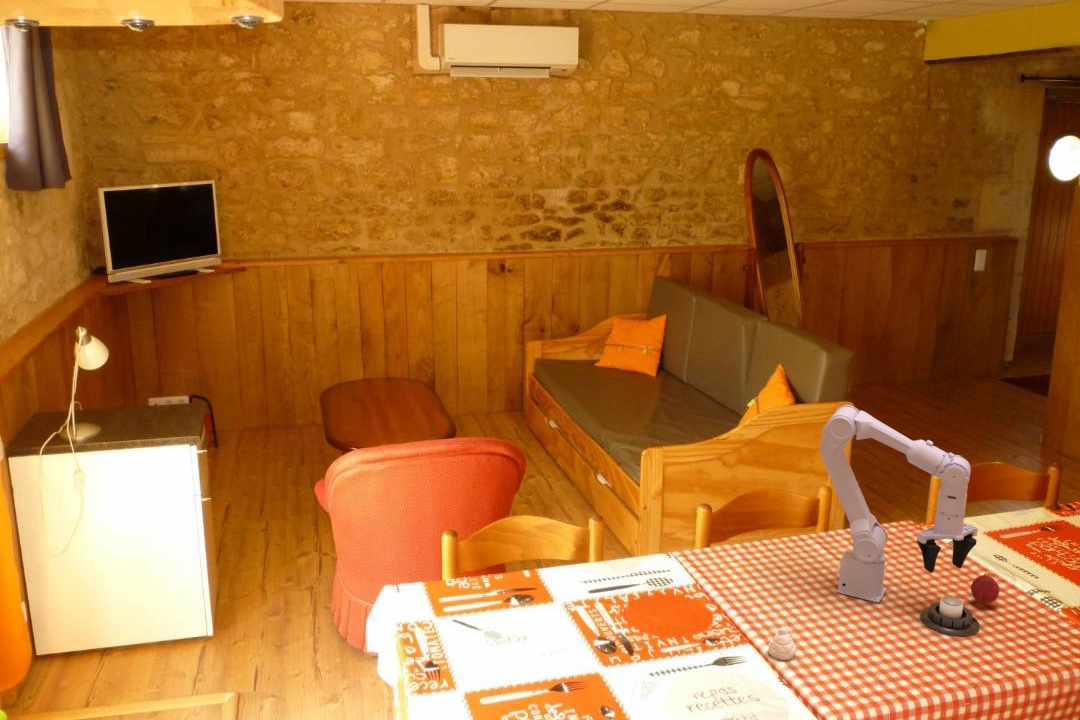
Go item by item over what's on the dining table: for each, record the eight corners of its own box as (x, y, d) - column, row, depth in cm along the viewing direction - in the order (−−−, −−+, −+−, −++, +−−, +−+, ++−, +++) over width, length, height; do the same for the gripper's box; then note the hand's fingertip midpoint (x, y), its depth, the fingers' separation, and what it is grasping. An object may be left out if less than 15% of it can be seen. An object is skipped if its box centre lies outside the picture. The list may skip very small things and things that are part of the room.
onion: (999, 612, 214) (1004, 579, 212) (972, 609, 215) (976, 576, 213) (993, 599, 219) (997, 567, 217) (966, 597, 220) (970, 565, 218)
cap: (935, 621, 208) (938, 601, 207) (940, 612, 212) (943, 593, 211) (958, 627, 206) (960, 607, 204) (962, 619, 209) (965, 599, 208)
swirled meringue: (775, 618, 198) (801, 626, 195) (773, 644, 199) (798, 652, 196) (766, 629, 193) (792, 637, 190) (764, 656, 195) (790, 664, 192)
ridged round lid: (914, 626, 207) (916, 615, 206) (925, 604, 217) (927, 593, 216) (974, 642, 201) (976, 631, 200) (983, 618, 211) (984, 607, 210)
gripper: (935, 522, 203) (928, 580, 207) (990, 514, 208) (982, 572, 211) (913, 509, 210) (906, 566, 213) (967, 502, 214) (959, 558, 218)
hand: (942, 568), depth 213 cm, fingers open, 7 cm apart
